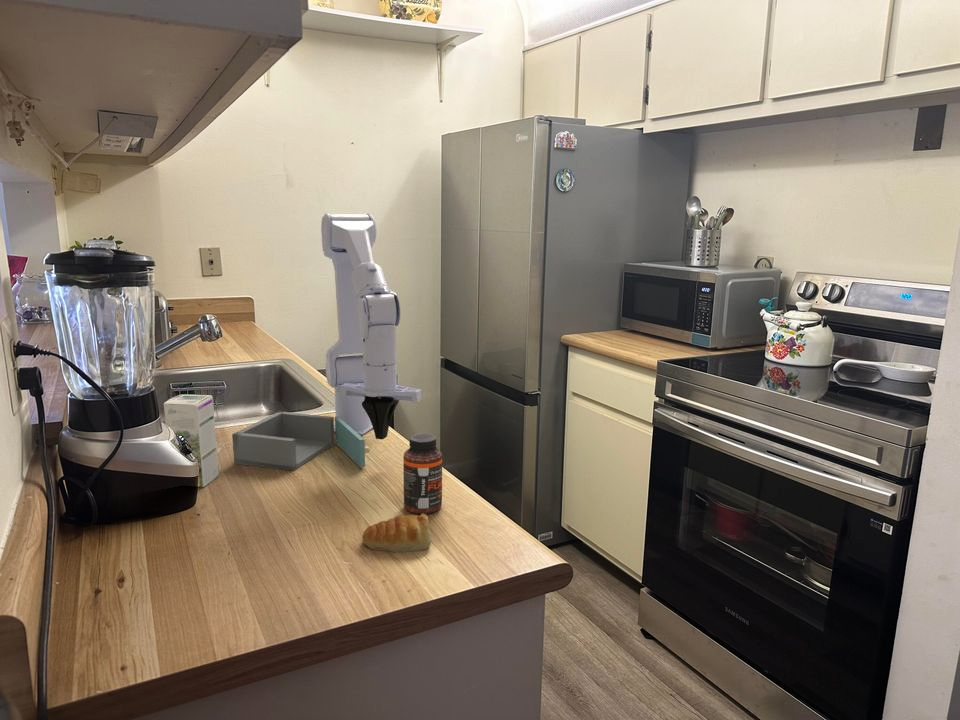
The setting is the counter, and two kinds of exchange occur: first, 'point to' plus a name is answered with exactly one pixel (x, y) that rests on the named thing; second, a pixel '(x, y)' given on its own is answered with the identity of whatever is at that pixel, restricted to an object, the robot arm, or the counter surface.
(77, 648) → the counter surface
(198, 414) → the syrup box
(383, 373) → the robot arm
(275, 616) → the counter surface
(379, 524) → the pastry
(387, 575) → the counter surface
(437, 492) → the supplement bottle
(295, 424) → the grey open box
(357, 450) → the door
